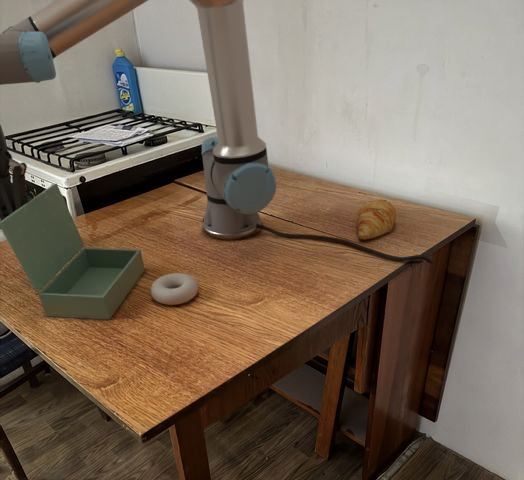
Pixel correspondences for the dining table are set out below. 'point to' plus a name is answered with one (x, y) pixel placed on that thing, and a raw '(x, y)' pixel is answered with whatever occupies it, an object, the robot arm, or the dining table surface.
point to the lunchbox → (93, 283)
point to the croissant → (375, 219)
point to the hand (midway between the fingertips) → (21, 245)
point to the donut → (174, 288)
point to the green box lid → (43, 236)
